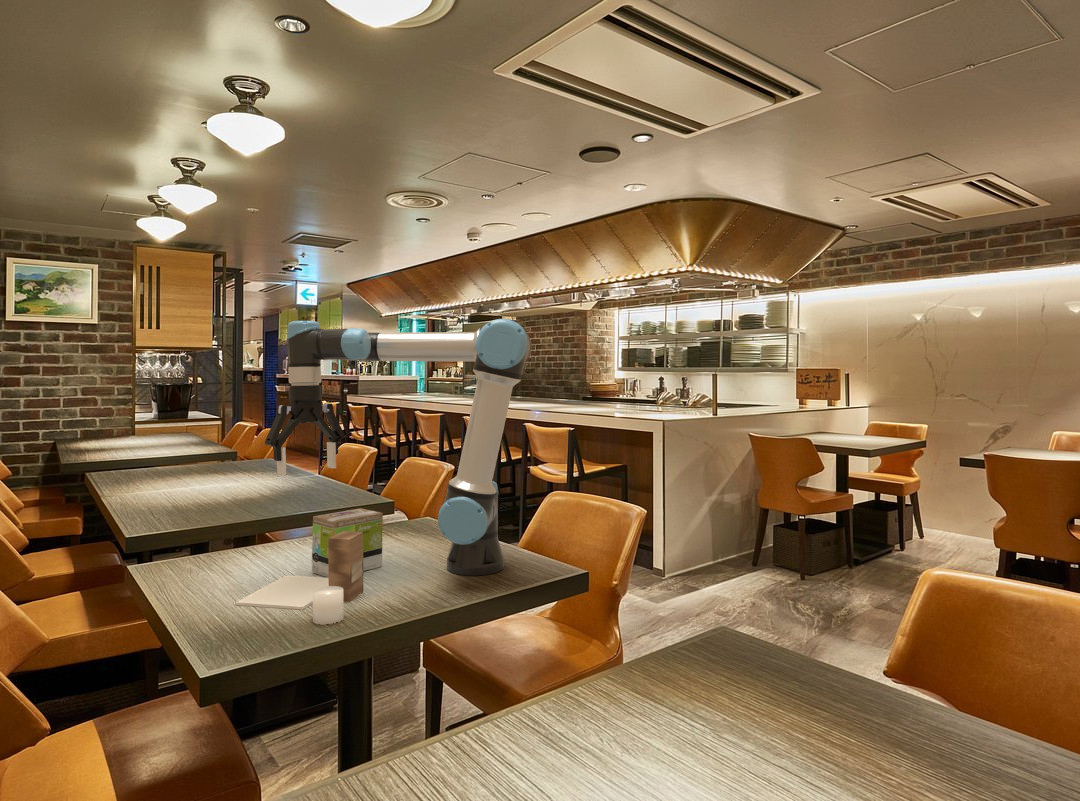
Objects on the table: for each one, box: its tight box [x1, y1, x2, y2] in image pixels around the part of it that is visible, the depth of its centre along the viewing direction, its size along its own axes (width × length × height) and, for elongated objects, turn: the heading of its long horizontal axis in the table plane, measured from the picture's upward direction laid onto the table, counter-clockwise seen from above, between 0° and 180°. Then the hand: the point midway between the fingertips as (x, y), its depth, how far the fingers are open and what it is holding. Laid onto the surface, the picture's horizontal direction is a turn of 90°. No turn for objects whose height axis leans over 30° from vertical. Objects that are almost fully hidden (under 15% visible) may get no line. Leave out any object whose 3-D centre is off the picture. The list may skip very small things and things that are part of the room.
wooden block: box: [328, 531, 364, 603], centre depth 148 cm, size 5×7×14 cm
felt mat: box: [235, 574, 329, 611], centre depth 150 cm, size 16×20×1 cm
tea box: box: [311, 507, 384, 578], centre depth 168 cm, size 15×10×15 cm, turn 143°
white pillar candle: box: [312, 586, 345, 626], centre depth 134 cm, size 6×6×6 cm
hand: (307, 471), depth 159 cm, fingers open, 13 cm apart
